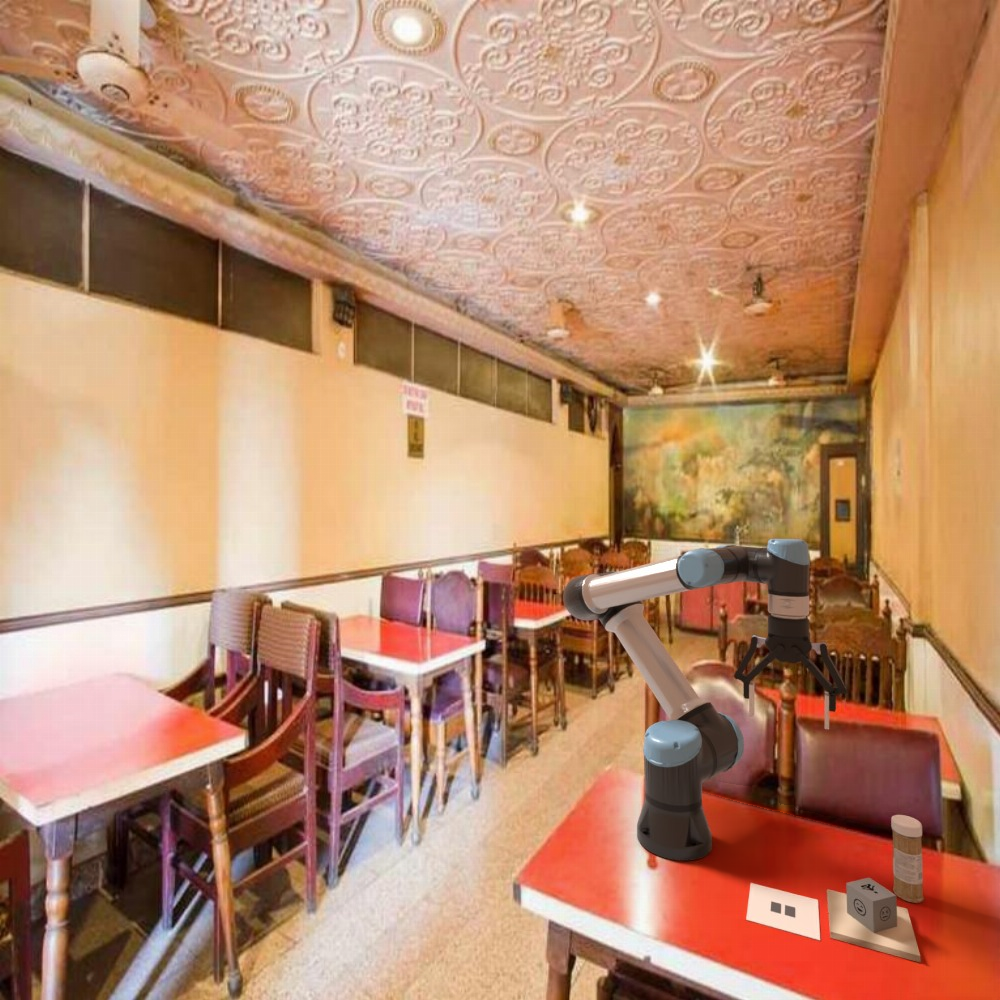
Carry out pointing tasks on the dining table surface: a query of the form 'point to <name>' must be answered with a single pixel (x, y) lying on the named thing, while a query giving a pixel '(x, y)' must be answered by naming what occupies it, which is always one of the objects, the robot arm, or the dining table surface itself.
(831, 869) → the dining table surface
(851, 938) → the birch coaster
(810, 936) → the white tile
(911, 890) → the sprinkles bottle
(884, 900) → the dice cube
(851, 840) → the dining table surface
